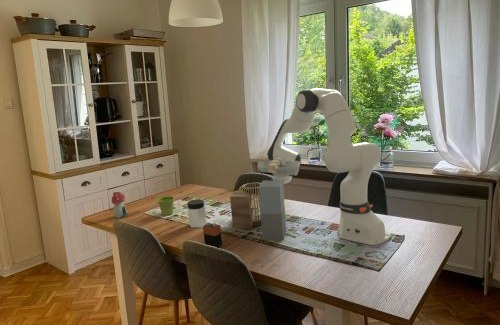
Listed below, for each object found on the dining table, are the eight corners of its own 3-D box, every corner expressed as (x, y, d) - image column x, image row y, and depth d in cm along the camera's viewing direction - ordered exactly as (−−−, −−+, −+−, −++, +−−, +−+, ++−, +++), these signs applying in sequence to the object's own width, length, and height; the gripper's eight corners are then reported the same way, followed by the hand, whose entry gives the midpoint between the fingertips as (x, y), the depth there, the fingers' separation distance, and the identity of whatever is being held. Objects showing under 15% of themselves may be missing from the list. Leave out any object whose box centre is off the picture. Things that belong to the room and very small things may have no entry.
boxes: (237, 220, 195) (233, 174, 190) (289, 220, 189) (286, 173, 184) (225, 239, 173) (220, 187, 168) (283, 240, 167) (279, 186, 162)
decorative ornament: (119, 219, 209) (115, 193, 206) (110, 218, 212) (106, 192, 209) (131, 213, 218) (127, 188, 215) (121, 213, 220) (118, 187, 217)
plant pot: (174, 216, 209) (172, 200, 207) (157, 217, 209) (155, 201, 207) (177, 210, 218) (176, 195, 216) (161, 211, 218) (159, 196, 216)
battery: (216, 248, 164) (214, 226, 162) (204, 245, 167) (202, 224, 165) (222, 244, 167) (220, 222, 165) (210, 242, 171) (208, 220, 169)
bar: (274, 163, 188) (274, 158, 188) (280, 162, 188) (280, 157, 187) (268, 172, 171) (268, 167, 170) (275, 172, 170) (274, 166, 170)
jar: (188, 223, 196) (185, 200, 194) (204, 220, 198) (202, 198, 196) (191, 229, 188) (188, 205, 185) (207, 226, 190) (205, 202, 188)
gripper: (260, 164, 200) (255, 155, 187) (300, 163, 195) (297, 154, 182) (260, 176, 198) (254, 168, 185) (300, 175, 193) (297, 167, 180)
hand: (276, 161), depth 183 cm, fingers closed on bar, 3 cm apart
